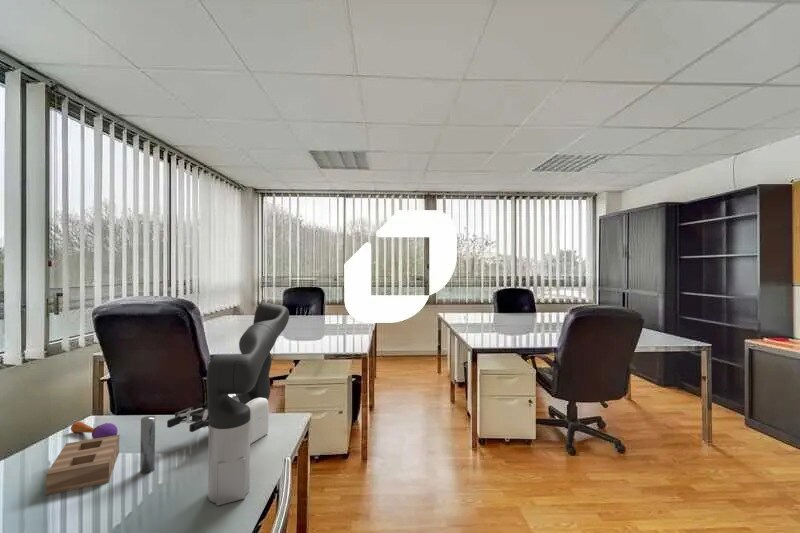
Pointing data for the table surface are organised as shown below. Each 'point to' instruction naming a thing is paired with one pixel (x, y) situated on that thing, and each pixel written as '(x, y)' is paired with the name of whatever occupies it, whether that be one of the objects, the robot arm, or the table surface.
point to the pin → (147, 444)
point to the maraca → (95, 429)
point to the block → (83, 464)
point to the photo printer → (258, 418)
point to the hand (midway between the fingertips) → (179, 426)
